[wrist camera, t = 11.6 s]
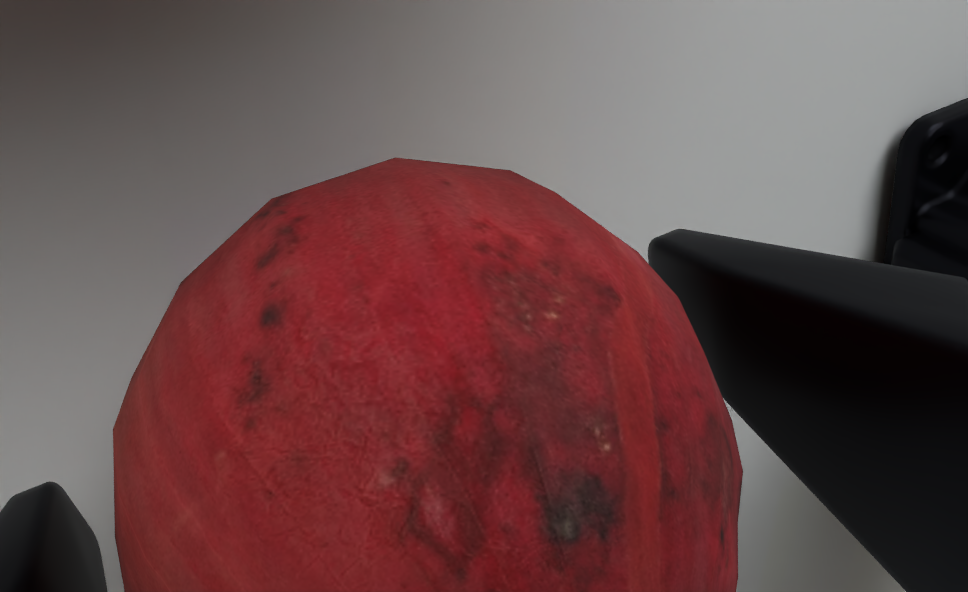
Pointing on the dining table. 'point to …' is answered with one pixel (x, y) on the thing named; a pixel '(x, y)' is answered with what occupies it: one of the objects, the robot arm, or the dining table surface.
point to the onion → (425, 404)
